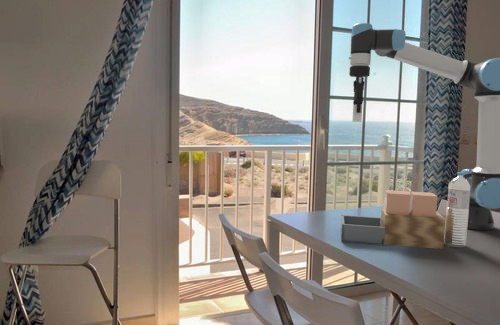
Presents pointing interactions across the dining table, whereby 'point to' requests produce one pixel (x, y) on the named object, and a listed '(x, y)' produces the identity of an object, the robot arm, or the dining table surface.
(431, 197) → the salmon pink cube
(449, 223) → the water bottle
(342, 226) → the tray
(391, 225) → the zigzag patterned block
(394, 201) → the pink block
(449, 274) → the dining table surface
